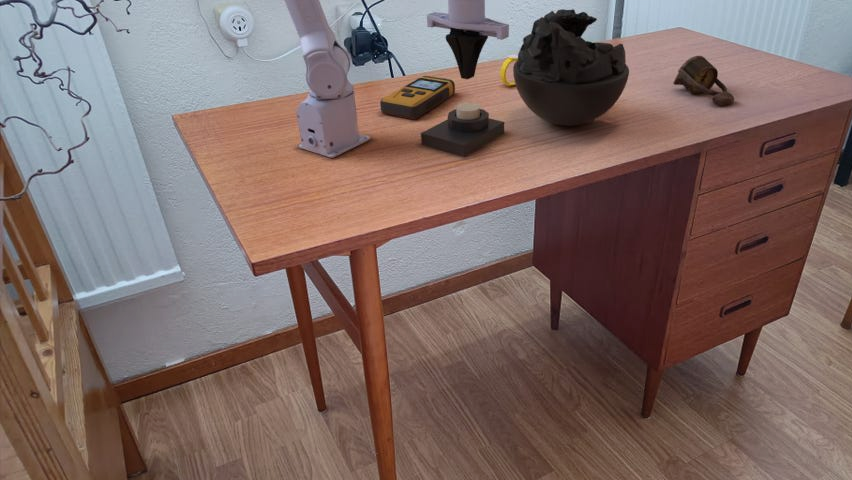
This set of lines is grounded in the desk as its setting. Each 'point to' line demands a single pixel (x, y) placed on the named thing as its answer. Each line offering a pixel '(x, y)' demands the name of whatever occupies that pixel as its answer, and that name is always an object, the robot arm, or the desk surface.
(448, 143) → the switch box
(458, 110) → the power button
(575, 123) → the coal bowl
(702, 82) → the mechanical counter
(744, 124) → the desk surface
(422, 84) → the electronic device
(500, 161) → the desk surface
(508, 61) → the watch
